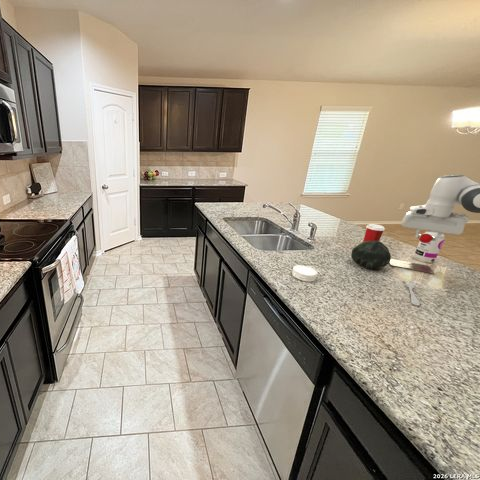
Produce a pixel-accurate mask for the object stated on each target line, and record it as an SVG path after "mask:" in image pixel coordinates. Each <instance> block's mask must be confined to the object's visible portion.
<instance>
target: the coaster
mask: <svg viewBox="0 0 480 480" xmlns="http://www.w3.org/2000/svg"><path fill="white" fill-rule="evenodd" d="M291 275H292V276H293V277H294V278H295V279H296V280H299V281H303V282H310V283H311V282H314V281H316V280H317V276H318V272H317V270H315V268H313V267H310V266H307V265H301V264H299V265H294V266H293V267H292V270H291Z"/></svg>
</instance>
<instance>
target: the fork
mask: <svg viewBox="0 0 480 480" xmlns="http://www.w3.org/2000/svg"><path fill="white" fill-rule="evenodd" d="M405 285H406V286H407V287H408V290H409V293H410V302H411V304H412V305H414V306H417V307H418V306H419V307H420V306H421V304H420V303H421V302H420V301H419V299H418V298H417V297H416V295H415V293H414V291H413V289H415V288H416V284H415V283H412V282H409V281H405Z"/></svg>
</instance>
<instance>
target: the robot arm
mask: <svg viewBox="0 0 480 480" xmlns="http://www.w3.org/2000/svg"><path fill="white" fill-rule="evenodd" d="M456 205H460V206H462V207H463V209H464V210H466V211H467V212H470V213H474V214H480V183H479V182H476V181H474V180H472V179H470V178H468V176H467V177H466V175H464V174H446V175H442V176H440V177H439V178H437V180H436V181H435V182H434V184H433V186H432V188H431V190H430V193H429V199H428V200H427V201H426V202H425V204H423V205H414V206H413V205H412V206H410V207H409V211H408V212H406V214H404V216H403V218H402V220H401V222H400V225H401V227H402V228H406V229H414V233H415V236H414V238H415V239H418V240H419V239H420V237H421V235H422V234H420V233H419V232H421V231H422V230H423V231H426V232H436V233H438V234H437V235H436V236H432V241H436V240H437V238H438V237H440V236H441V235H444V234H449V235H457V236H460V235H462V234H463V232H464V229H465V226H466V224H467V223H468V221H469V215H467V214H465V213H457V212H453V210H454V209H455V206H456Z"/></svg>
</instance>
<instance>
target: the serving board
mask: <svg viewBox="0 0 480 480" xmlns="http://www.w3.org/2000/svg"><path fill="white" fill-rule="evenodd" d="M388 264H389V265H390V266H391V267H395V268H400V269H404V270H409V271H416V272H420V273H424V274H430V275H435V273H434V271H433V269H431V267H430V266H429V265H426V264H421V263H416V262H413V261H412V262H411V261H405V260H400V259H397V258H396V259H395V258H391V259H390V262H389V263H388Z"/></svg>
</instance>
